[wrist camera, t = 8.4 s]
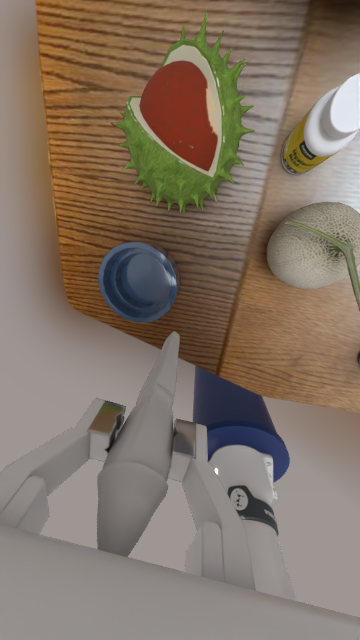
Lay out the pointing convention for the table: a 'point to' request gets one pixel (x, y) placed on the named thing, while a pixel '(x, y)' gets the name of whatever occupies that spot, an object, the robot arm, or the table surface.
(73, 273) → the table surface
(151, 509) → the pen
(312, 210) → the fruit
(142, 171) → the chestnut
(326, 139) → the supplement bottle
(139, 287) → the bowl
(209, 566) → the robot arm
